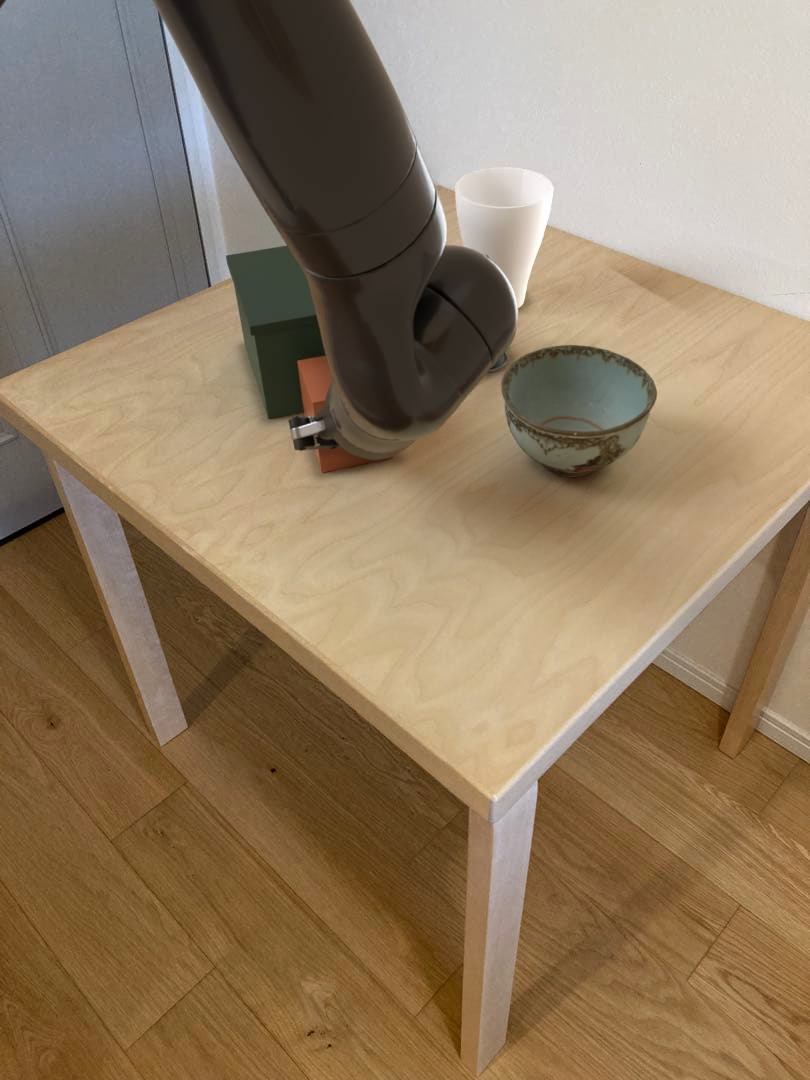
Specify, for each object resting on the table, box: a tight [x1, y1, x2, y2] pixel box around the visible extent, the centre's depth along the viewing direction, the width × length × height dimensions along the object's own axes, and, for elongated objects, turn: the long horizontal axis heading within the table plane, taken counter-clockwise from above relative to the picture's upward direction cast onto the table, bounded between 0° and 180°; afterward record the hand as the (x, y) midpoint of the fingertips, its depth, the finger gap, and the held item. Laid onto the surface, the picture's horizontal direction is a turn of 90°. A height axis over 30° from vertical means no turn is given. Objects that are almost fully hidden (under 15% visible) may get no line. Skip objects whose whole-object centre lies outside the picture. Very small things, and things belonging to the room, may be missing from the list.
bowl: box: [500, 344, 658, 478], centre depth 81 cm, size 14×13×8 cm
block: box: [297, 356, 394, 473], centre depth 84 cm, size 7×7×8 cm
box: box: [225, 245, 325, 420], centre depth 92 cm, size 15×15×11 cm
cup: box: [454, 166, 554, 309], centre depth 100 cm, size 10×10×14 cm
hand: (353, 435), depth 81 cm, fingers closed
